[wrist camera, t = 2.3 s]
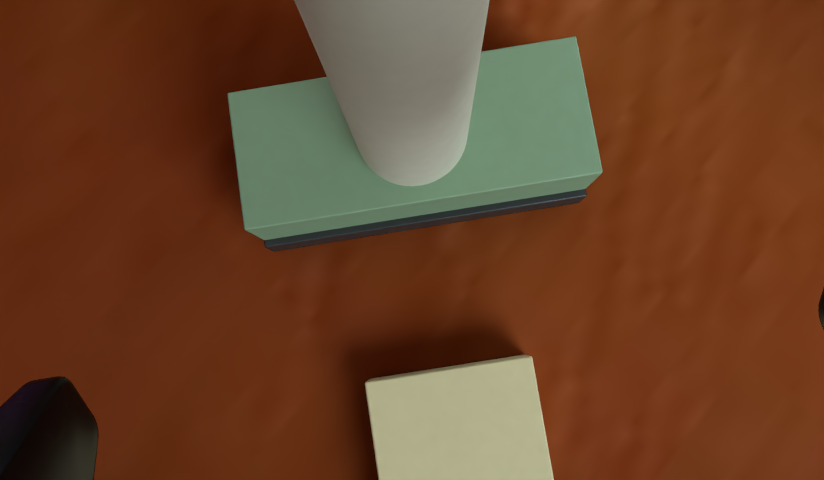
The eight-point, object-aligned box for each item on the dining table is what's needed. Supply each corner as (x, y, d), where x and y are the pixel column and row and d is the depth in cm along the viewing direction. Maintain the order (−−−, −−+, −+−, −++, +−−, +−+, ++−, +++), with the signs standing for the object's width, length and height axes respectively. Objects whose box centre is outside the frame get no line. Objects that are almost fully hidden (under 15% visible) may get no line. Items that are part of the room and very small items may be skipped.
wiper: (580, 202, 20) (835, -24, 7) (272, 251, 20) (-13, 115, 7) (554, 71, 21) (752, -358, 8) (255, 120, 21) (-39, -223, 8)
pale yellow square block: (555, 519, 19) (563, 532, 18) (392, 544, 19) (389, 558, 18) (526, 354, 20) (531, 355, 18) (368, 379, 20) (364, 381, 19)
